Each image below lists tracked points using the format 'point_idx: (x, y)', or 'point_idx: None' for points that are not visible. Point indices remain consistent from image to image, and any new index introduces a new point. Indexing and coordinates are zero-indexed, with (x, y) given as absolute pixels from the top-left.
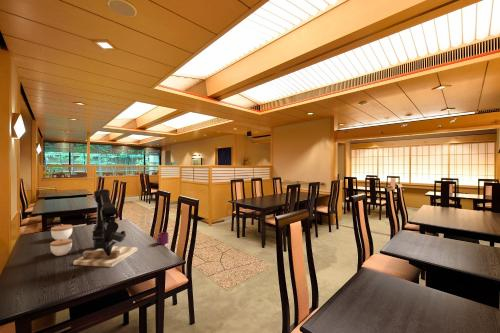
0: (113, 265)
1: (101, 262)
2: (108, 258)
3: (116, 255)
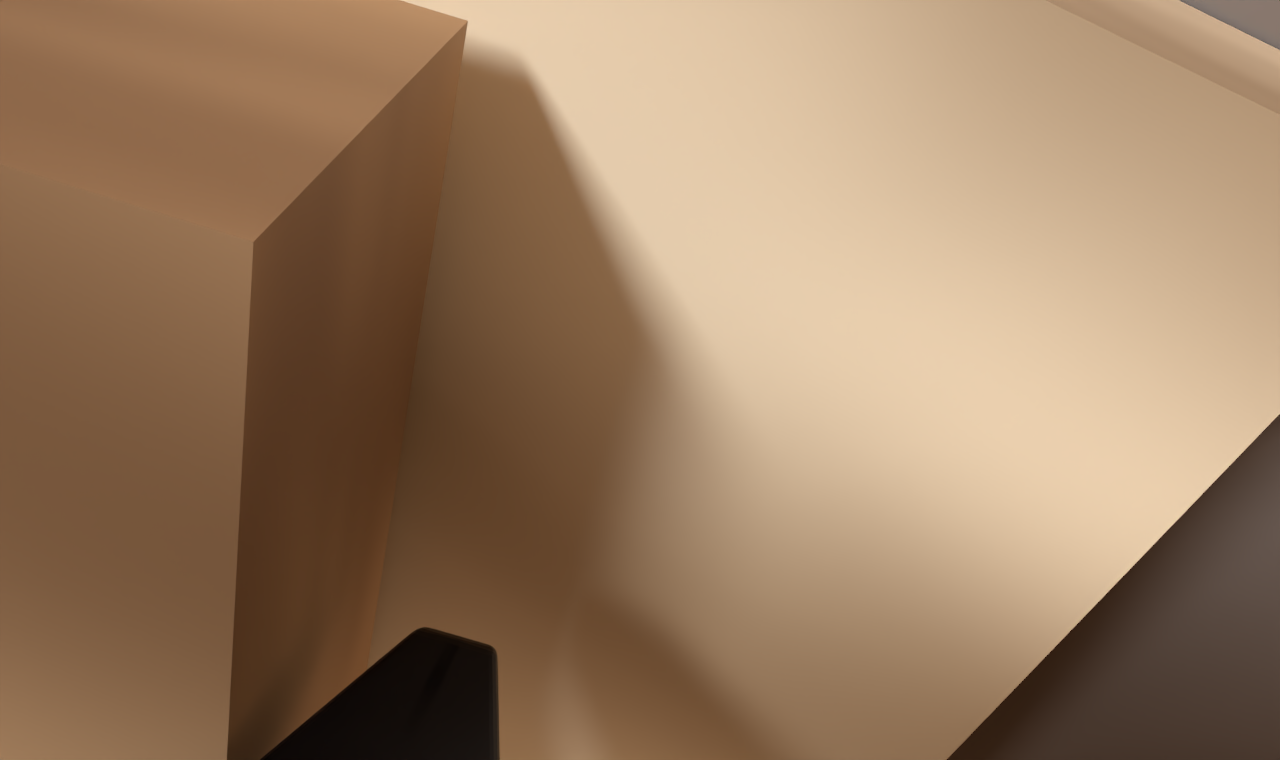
0: (1222, 23)
1: (925, 746)
2: (394, 514)
3: (396, 131)
